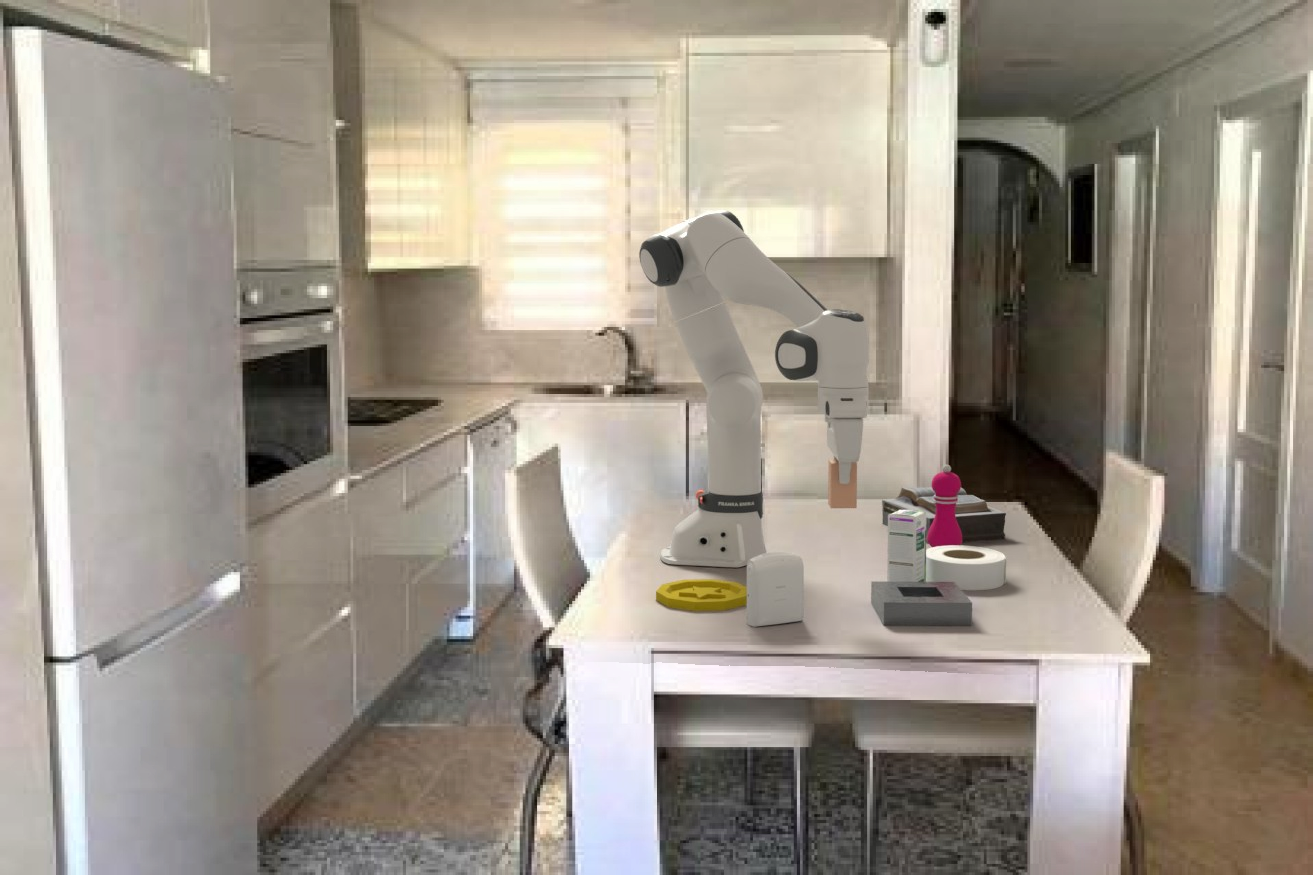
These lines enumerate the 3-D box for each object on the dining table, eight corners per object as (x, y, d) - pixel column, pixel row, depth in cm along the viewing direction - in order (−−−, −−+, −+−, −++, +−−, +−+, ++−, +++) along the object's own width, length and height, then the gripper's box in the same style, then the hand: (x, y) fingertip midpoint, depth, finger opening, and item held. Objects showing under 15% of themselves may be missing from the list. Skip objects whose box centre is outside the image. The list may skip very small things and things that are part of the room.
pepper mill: (962, 563, 273) (965, 467, 271) (926, 562, 275) (929, 466, 272) (961, 556, 280) (964, 462, 278) (926, 554, 282) (929, 461, 279)
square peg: (830, 508, 233) (831, 463, 232) (828, 503, 237) (828, 459, 236) (856, 508, 233) (857, 463, 232) (853, 503, 237) (853, 459, 236)
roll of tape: (1007, 593, 250) (1009, 564, 249) (922, 589, 253) (923, 560, 252) (1002, 574, 265) (1003, 546, 264) (922, 570, 268) (922, 543, 267)
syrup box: (915, 591, 250) (917, 516, 248) (885, 587, 253) (887, 512, 251) (926, 585, 255) (928, 511, 253) (897, 581, 258) (898, 508, 256)
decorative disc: (684, 585, 256) (684, 575, 256) (766, 597, 247) (766, 586, 247) (639, 604, 242) (639, 593, 242) (724, 617, 233) (724, 606, 233)
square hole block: (883, 625, 227) (884, 602, 226) (870, 602, 242) (871, 581, 241) (971, 625, 226) (972, 602, 226) (953, 603, 241) (954, 581, 241)
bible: (971, 520, 321) (973, 480, 319) (1012, 544, 294) (1013, 500, 293) (877, 522, 319) (878, 481, 317) (909, 546, 292) (910, 502, 291)
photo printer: (753, 628, 225) (754, 557, 223) (742, 622, 229) (743, 552, 227) (807, 622, 229) (808, 552, 227) (795, 616, 232) (796, 547, 231)
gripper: (819, 396, 243) (818, 471, 245) (830, 409, 223) (830, 490, 225) (853, 396, 243) (852, 471, 245) (868, 408, 223) (867, 490, 225)
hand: (842, 480), depth 235 cm, fingers closed on square peg, 4 cm apart
